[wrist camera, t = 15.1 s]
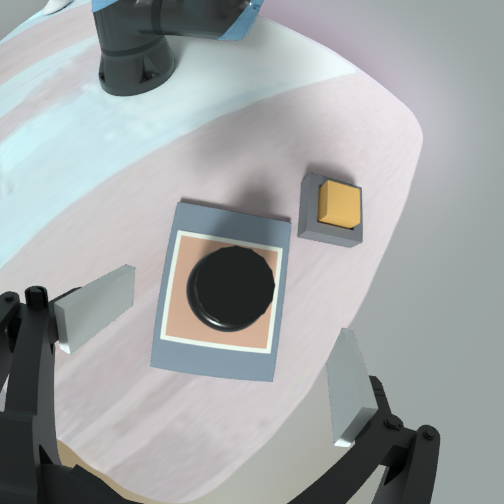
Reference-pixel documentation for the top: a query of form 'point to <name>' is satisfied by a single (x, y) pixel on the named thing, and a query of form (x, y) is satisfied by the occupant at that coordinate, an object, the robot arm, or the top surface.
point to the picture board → (183, 319)
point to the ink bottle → (230, 288)
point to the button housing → (309, 212)
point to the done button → (338, 205)
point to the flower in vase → (54, 6)
